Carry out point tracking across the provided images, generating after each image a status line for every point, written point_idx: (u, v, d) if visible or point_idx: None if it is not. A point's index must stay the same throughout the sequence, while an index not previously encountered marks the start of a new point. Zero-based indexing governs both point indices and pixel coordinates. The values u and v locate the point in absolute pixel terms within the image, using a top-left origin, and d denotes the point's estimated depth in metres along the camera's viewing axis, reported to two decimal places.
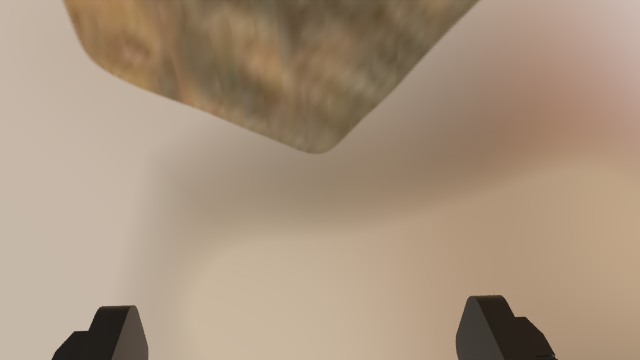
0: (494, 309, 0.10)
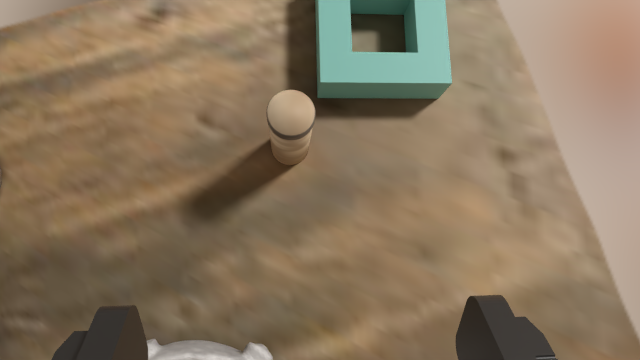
0: (494, 309, 0.10)
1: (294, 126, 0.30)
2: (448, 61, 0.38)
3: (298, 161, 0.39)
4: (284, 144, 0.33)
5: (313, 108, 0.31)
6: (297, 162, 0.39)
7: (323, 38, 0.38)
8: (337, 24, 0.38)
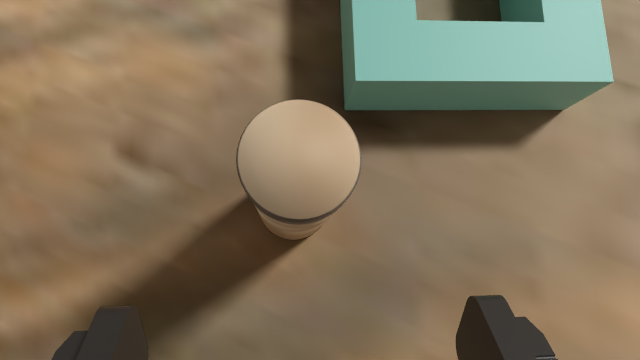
0: (494, 309, 0.10)
1: (308, 195, 0.12)
2: (603, 39, 0.20)
3: (310, 234, 0.20)
4: (282, 225, 0.14)
5: (356, 147, 0.12)
6: (308, 235, 0.20)
7: None
8: None
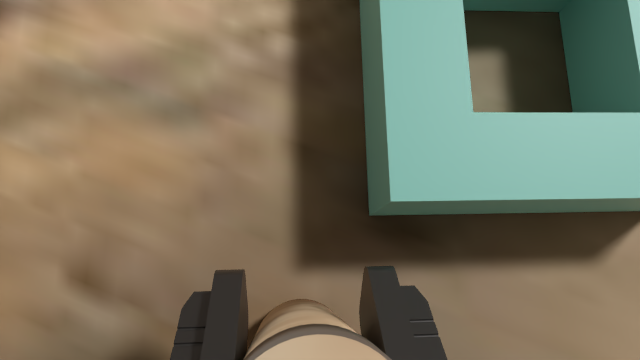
0: (381, 277, 0.11)
1: None
2: None
3: None
4: None
5: None
6: None
7: (396, 76, 0.14)
8: (431, 38, 0.14)
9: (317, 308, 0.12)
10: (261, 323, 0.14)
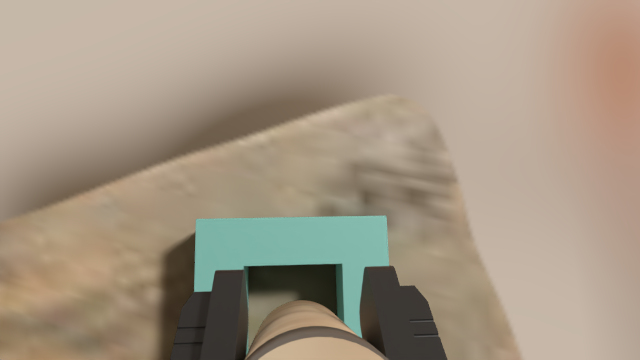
0: (381, 277, 0.11)
1: None
2: None
3: None
4: None
5: None
6: None
7: None
8: None
9: (317, 309, 0.12)
10: (261, 324, 0.14)
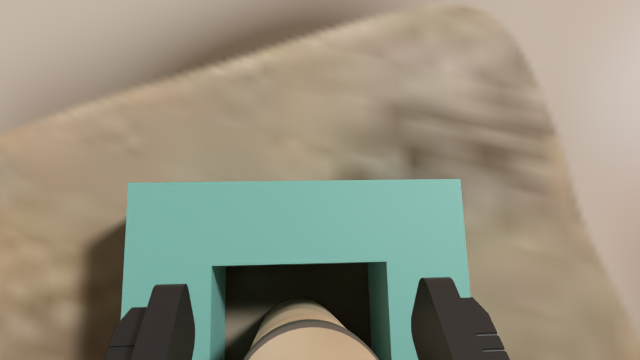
0: (441, 289, 0.11)
1: None
2: None
3: None
4: None
5: None
6: None
7: None
8: None
9: (312, 306, 0.14)
10: (263, 320, 0.16)
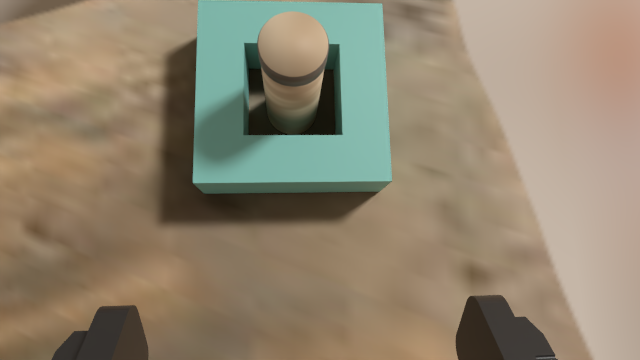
0: (494, 309, 0.10)
1: (298, 63, 0.21)
2: (387, 147, 0.26)
3: (303, 128, 0.29)
4: (283, 95, 0.23)
5: (326, 38, 0.21)
6: (302, 130, 0.29)
7: (201, 115, 0.25)
8: (223, 94, 0.26)
9: None
10: None
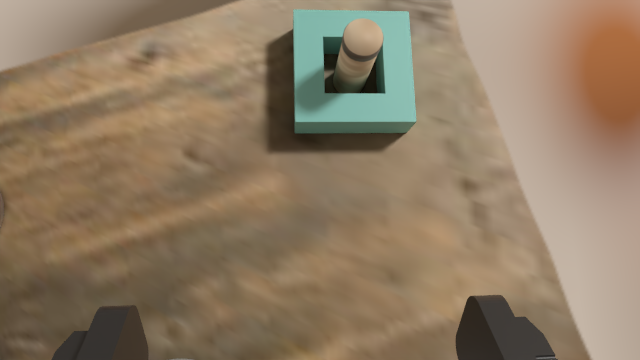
0: (494, 309, 0.10)
1: (366, 48, 0.36)
2: (413, 101, 0.42)
3: (357, 92, 0.45)
4: (353, 68, 0.39)
5: (381, 33, 0.37)
6: None
7: (298, 81, 0.41)
8: (311, 68, 0.42)
9: None
10: None
